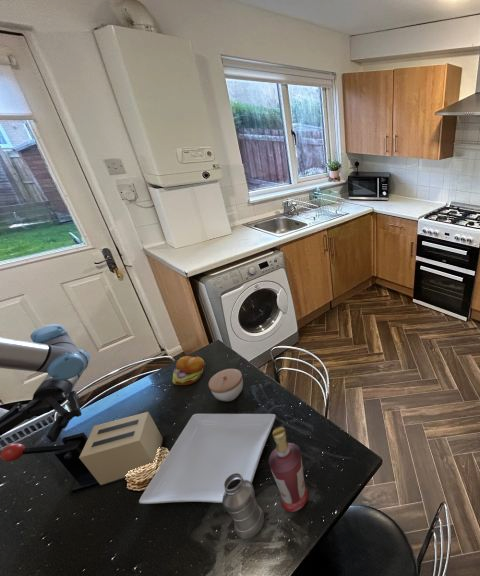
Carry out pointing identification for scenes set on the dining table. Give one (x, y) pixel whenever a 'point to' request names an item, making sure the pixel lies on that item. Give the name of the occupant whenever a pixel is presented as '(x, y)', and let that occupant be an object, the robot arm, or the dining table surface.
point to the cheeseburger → (188, 370)
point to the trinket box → (226, 384)
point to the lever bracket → (76, 463)
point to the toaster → (121, 447)
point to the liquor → (288, 472)
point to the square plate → (209, 457)
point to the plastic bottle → (242, 506)
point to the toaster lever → (32, 450)
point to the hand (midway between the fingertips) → (16, 448)
